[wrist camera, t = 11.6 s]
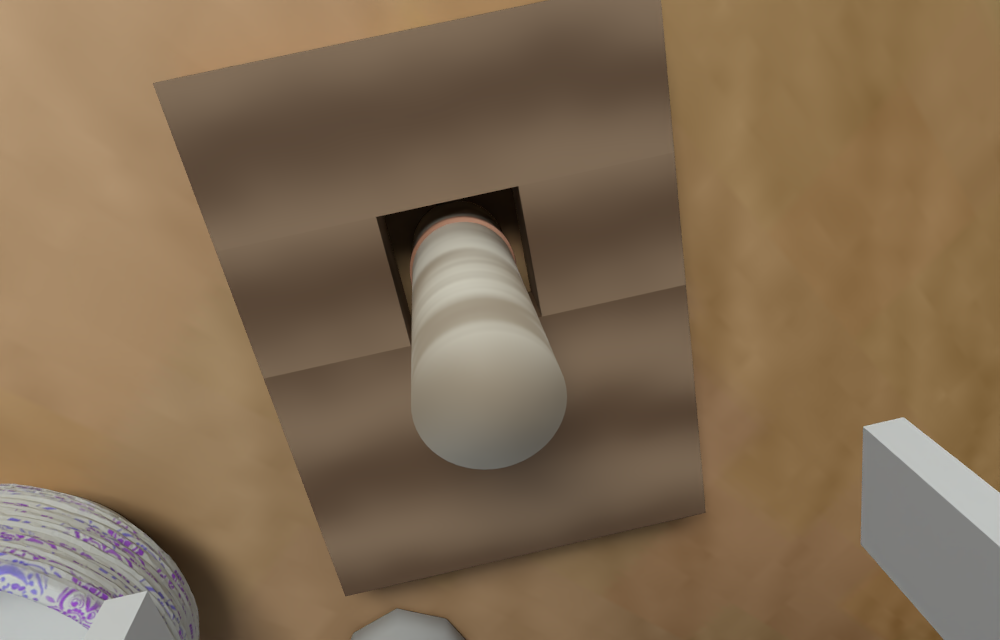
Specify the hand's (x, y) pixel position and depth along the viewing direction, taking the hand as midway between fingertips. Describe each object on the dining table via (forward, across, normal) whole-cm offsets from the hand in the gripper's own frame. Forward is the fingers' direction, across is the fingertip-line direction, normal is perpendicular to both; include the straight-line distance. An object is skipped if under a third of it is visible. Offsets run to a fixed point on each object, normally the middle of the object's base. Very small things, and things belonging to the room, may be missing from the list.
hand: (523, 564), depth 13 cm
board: (+20, 0, +3) cm, 20 cm away
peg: (+20, 0, 0) cm, 20 cm away
